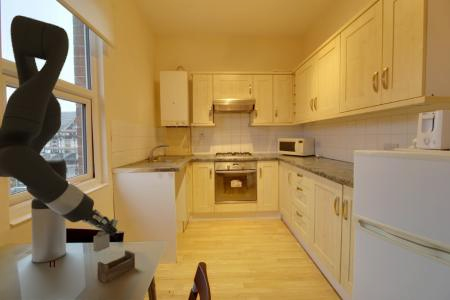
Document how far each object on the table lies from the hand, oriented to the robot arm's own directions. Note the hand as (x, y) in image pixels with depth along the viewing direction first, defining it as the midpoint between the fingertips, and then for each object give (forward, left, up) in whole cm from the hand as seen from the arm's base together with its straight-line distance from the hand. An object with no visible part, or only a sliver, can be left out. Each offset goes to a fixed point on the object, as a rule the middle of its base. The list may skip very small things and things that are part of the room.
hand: (112, 231), depth 72 cm
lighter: (0, -2, -4) cm, 5 cm away
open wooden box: (+6, -1, -10) cm, 12 cm away
